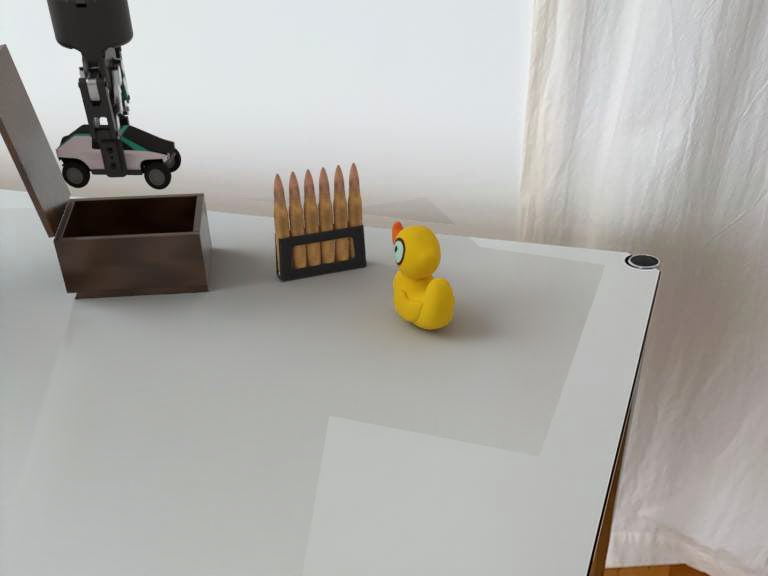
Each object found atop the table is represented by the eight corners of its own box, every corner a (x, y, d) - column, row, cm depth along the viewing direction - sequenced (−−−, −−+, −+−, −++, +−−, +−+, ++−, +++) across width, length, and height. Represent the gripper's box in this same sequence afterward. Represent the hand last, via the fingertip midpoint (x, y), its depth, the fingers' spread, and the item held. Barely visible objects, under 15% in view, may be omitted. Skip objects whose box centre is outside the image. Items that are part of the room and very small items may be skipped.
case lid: (6, 43, 94) (-1, 45, 94) (-19, 76, 85) (-26, 78, 86) (71, 194, 105) (65, 195, 105) (55, 236, 97) (48, 238, 97)
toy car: (78, 168, 101) (66, 118, 98) (183, 170, 101) (175, 120, 97) (61, 188, 97) (48, 137, 93) (172, 190, 97) (163, 139, 93)
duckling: (374, 302, 101) (372, 215, 95) (416, 292, 103) (417, 206, 96) (421, 349, 94) (423, 258, 87) (465, 337, 96) (471, 247, 89)
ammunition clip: (280, 281, 105) (271, 177, 97) (276, 274, 106) (266, 171, 98) (366, 266, 108) (364, 164, 100) (361, 260, 109) (358, 158, 101)
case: (211, 247, 111) (203, 192, 107) (208, 291, 103) (199, 234, 98) (82, 253, 110) (69, 198, 105) (68, 298, 101) (52, 241, 97)
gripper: (56, -28, 91) (94, 142, 103) (31, 6, 81) (76, 191, 92) (132, -30, 92) (161, 139, 103) (116, 4, 82) (150, 188, 93)
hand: (120, 163), depth 98 cm, fingers closed on toy car, 6 cm apart
